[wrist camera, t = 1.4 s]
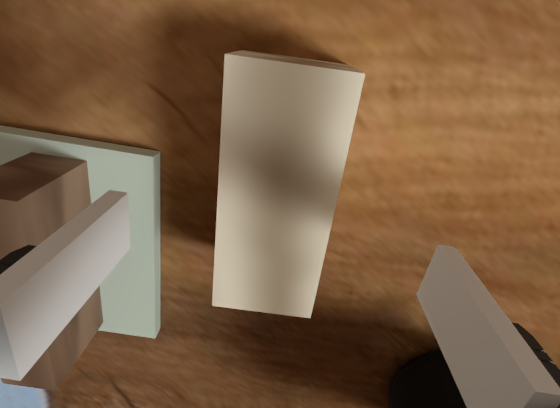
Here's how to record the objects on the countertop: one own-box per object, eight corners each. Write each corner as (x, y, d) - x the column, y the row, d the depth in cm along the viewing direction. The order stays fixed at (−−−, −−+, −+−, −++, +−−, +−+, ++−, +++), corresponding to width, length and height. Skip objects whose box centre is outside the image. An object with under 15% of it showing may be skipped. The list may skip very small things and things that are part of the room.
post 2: (60, 315, 28) (2, 383, 22) (49, 255, 25) (-19, 315, 20) (103, 322, 28) (56, 390, 22) (97, 262, 25) (42, 324, 20)
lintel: (229, 249, 26) (212, 305, 20) (244, 49, 20) (224, 53, 14) (307, 260, 26) (310, 318, 21) (346, 64, 20) (365, 73, 14)
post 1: (45, 232, 24) (-27, 288, 19) (31, 152, 21) (-58, 190, 16) (94, 240, 24) (36, 297, 19) (86, 161, 22) (17, 201, 16)
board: (20, 306, 29) (9, 317, 28) (-25, 121, 22) (-41, 125, 21) (160, 327, 29) (155, 338, 28) (160, 151, 22) (153, 157, 21)
